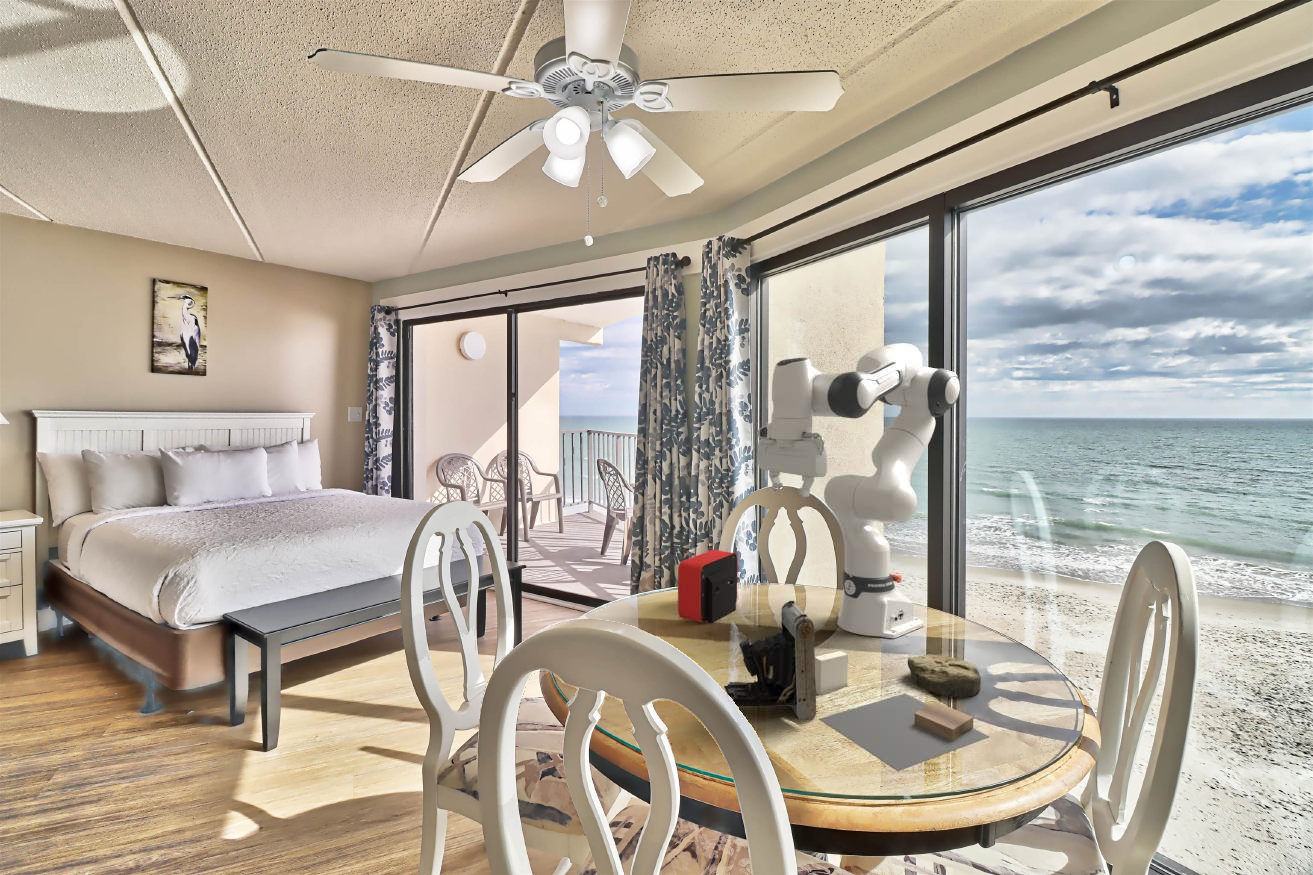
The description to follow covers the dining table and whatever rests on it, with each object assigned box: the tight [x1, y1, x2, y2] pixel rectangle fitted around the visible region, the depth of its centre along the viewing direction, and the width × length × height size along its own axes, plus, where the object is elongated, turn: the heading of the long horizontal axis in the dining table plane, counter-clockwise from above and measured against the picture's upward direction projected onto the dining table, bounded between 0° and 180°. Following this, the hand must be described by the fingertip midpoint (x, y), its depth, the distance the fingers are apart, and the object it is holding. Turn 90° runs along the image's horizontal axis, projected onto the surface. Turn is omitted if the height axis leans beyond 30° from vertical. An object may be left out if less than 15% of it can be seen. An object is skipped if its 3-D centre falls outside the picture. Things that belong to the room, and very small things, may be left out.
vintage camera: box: [723, 600, 817, 721], centre depth 116 cm, size 10×16×20 cm, turn 95°
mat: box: [819, 693, 990, 772], centre depth 110 cm, size 22×18×1 cm
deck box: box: [815, 650, 849, 696], centre depth 126 cm, size 7×2×7 cm, turn 117°
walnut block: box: [914, 701, 975, 741], centre depth 111 cm, size 7×7×2 cm
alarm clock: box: [677, 549, 738, 624], centre depth 171 cm, size 10×20×16 cm, turn 144°
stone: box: [907, 653, 982, 698], centre depth 128 cm, size 13×13×5 cm
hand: (790, 493), depth 138 cm, fingers open, 8 cm apart
